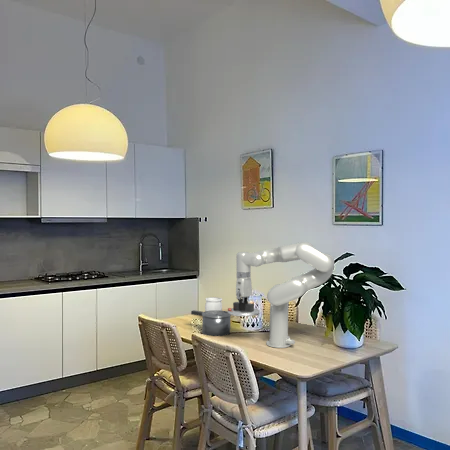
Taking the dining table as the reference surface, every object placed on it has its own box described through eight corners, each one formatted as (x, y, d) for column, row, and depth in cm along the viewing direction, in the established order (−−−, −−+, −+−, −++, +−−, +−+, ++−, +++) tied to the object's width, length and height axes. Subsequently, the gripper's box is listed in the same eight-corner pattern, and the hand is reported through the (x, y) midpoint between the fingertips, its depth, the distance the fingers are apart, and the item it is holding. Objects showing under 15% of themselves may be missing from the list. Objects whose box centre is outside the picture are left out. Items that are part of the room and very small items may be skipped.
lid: (264, 311, 242) (264, 302, 242) (249, 317, 228) (249, 307, 228) (237, 308, 251) (237, 299, 251) (221, 314, 237) (221, 304, 237)
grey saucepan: (236, 331, 260) (236, 312, 260) (220, 338, 245) (221, 318, 245) (200, 325, 273) (200, 307, 273) (183, 331, 259) (183, 312, 259)
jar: (222, 320, 287) (222, 297, 286) (220, 324, 276) (221, 300, 276) (206, 319, 288) (206, 296, 287) (203, 323, 277) (204, 299, 277)
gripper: (242, 277, 230) (242, 312, 231) (256, 273, 244) (256, 307, 245) (229, 276, 234) (229, 311, 235) (244, 273, 248) (244, 306, 249)
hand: (243, 309), depth 240 cm, fingers closed on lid, 3 cm apart
